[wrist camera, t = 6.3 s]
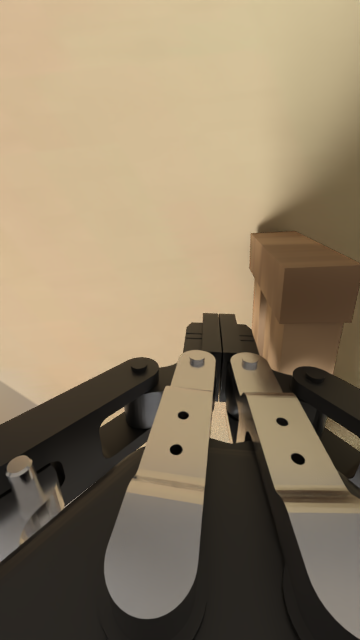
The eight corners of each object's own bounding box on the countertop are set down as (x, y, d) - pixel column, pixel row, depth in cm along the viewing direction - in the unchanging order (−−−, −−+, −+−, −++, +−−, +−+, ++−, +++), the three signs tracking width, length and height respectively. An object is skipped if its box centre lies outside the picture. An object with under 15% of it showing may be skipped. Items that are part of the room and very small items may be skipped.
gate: (272, 438, 22) (301, 547, 15) (242, 437, 22) (257, 544, 16) (294, 231, 15) (364, 265, 9) (250, 233, 16) (285, 268, 9)
